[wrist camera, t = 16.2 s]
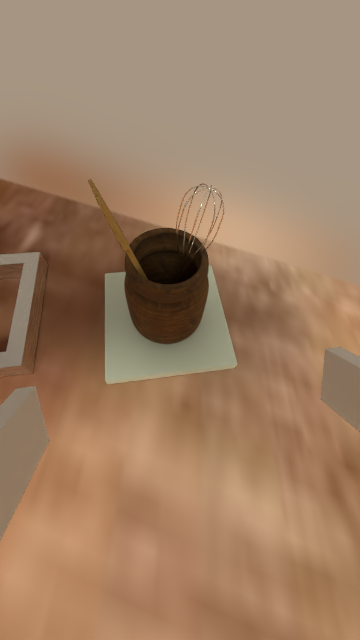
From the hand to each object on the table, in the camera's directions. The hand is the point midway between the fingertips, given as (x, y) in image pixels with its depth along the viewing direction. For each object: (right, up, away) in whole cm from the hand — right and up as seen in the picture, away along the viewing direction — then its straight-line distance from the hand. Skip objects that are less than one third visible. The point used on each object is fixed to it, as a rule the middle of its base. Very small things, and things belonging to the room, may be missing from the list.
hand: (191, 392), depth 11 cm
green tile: (-2, +3, +11) cm, 11 cm away
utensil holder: (-2, +4, +10) cm, 11 cm away
